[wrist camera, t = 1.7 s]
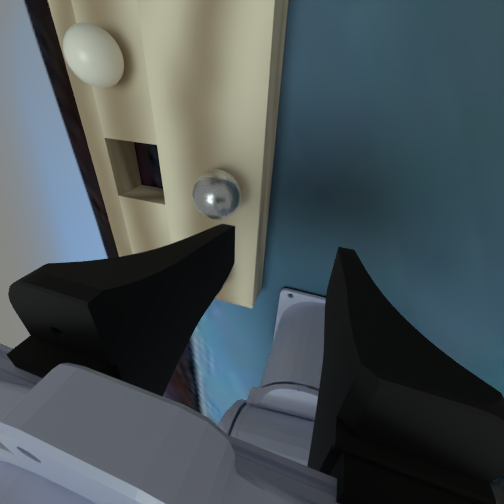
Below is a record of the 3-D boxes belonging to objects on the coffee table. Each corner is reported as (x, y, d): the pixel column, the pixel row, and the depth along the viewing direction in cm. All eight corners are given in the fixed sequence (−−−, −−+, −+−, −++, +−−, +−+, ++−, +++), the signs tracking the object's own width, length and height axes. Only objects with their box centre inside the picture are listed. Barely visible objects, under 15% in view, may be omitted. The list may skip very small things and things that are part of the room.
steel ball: (249, 167, 17) (230, 181, 14) (247, 212, 19) (230, 232, 16) (204, 161, 18) (180, 173, 15) (206, 204, 19) (185, 222, 17)
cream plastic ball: (129, 28, 15) (86, 17, 13) (139, 89, 17) (103, 90, 14) (87, 27, 16) (39, 16, 13) (100, 86, 17) (60, 86, 15)
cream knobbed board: (290, -21, 14) (277, -43, 12) (261, 288, 26) (252, 308, 24) (82, -14, 17) (39, -31, 15) (142, 258, 29) (123, 273, 27)
